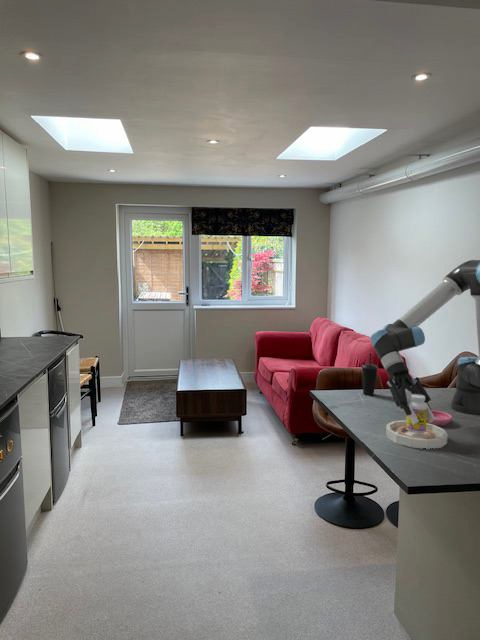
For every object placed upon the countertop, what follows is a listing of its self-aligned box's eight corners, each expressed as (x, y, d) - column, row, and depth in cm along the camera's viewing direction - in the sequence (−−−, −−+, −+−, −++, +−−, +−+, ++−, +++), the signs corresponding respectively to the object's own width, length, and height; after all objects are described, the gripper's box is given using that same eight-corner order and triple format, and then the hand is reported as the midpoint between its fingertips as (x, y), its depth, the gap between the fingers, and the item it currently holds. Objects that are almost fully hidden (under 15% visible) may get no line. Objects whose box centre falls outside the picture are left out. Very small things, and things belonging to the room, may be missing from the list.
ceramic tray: (439, 430, 174) (440, 423, 173) (451, 451, 154) (452, 442, 154) (384, 425, 178) (384, 418, 178) (388, 445, 159) (389, 436, 158)
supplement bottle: (405, 432, 164) (407, 397, 163) (406, 426, 170) (408, 392, 169) (425, 435, 162) (428, 399, 160) (425, 429, 168) (428, 394, 166)
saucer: (418, 424, 181) (418, 417, 180) (417, 415, 192) (418, 408, 192) (453, 429, 176) (453, 421, 176) (450, 419, 188) (450, 411, 188)
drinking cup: (375, 392, 226) (377, 352, 224) (378, 396, 218) (380, 355, 216) (359, 391, 227) (361, 351, 224) (361, 396, 219) (363, 354, 217)
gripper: (409, 370, 182) (439, 423, 168) (368, 373, 174) (396, 429, 161) (420, 359, 176) (451, 413, 163) (378, 362, 169) (407, 419, 156)
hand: (424, 421), depth 162 cm, fingers closed on supplement bottle, 7 cm apart
